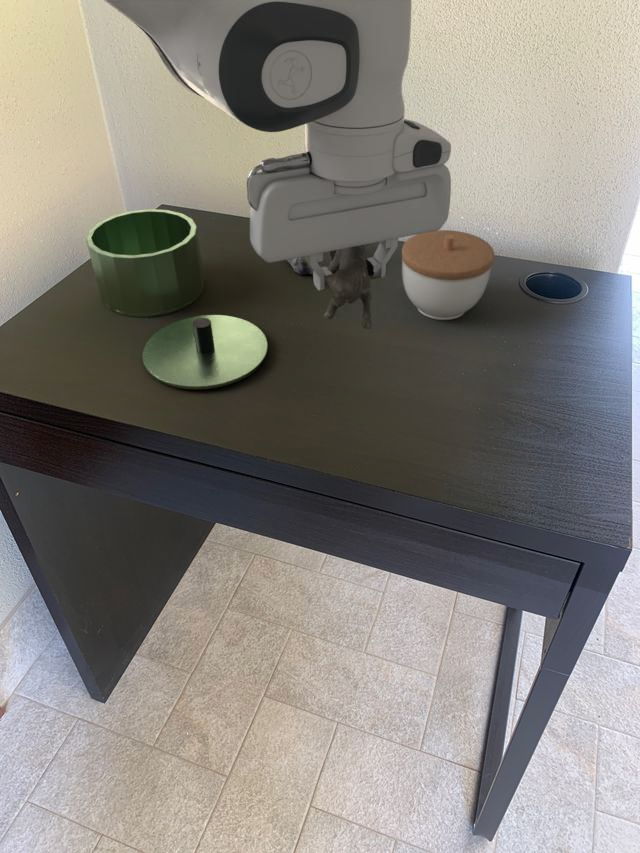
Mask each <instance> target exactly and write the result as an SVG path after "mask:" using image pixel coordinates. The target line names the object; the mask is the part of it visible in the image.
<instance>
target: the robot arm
mask: <svg viewBox="0 0 640 853" xmlns="http://www.w3.org/2000/svg"><path fill="white" fill-rule="evenodd" d="M104 2H106V3H107V4H109V5H110V6H111V7H112V8H114V9H115V10H117V11H118V12H119V13H121V14H122V15H123V16H125V17H126V18H127V19H128V20H130V21H131V22H132V23H134V24H135V26H136V27H138V28H139V29H140V30H141V31H142V32H144V34H145V35H146V37H147V38H148V40H149V41H150V42H151V44H152V46H153V47H154V49H155V51H156V52H157V54H158V56H159V57H160V59H161V61H162V63H163V64H164V66H165V68H166V69H167V70H168V72H169V73H170V74H171V76H172V77H173V78H174V79H175V80H176V81H177V82H178V83H179V84H180V85H181V86H182V87H183V88H185V89H186V91H189V92H191V93H192V94H194V95H196V96H199V97H201V98H203V99H205V100H207V101H208V102H210V103H211V104H213V106H215V107H217V108H218V109H220V110H221V111H222V112H224V113H226V114H227V115H229V117H231V118H233V119H234V120H236V121H237V122H239V123H241V124H243V125H244V126H246V127H249V128H251V129H254V130H256V131H260V132H264V133H280V132H284V131H289V130H292V129H294V128H298V127H300V126H304V127H305V128H304V130H305V131H304V132H305V133H304V136H305V138H304V139H305V143H304V144H305V152H301V153H295V154H290V155H286V156H283V157H277V158H276V157H269V158H265V159H264V158H263V159H262V160H260V163H259V164H258V165H255V167H253V168H252V169H251V170H250V172H249V173H248V174H247V177H246V181H245V182H246V184H245V185H246V197H247V199H246V200H247V201H248V204H249V206H250V214H249V241H250V244H251V247H252V248H253V250H254V252H255V253H256V254H257V255H258V256H259V257H260V258H261V259H262V260H263V261H265V262H266V263H269V264H271V263H277V262H282V261H287V260H288V259H293V258H298V257H303V256H304V258H305V259H306V261H307V262H308V264H309V265H310V267H311V268H312V269H313V275H312V277H313V280H312V282H313V286H314V287H315V288H316V289H317V290H318V292H320V291H326V290H330V287H329V285H328V283H327V281H326V276H328V275H330V274H332V272H331V271H329V269H328V268H327V267H320V266H319V264H318V262H322V261H323V253H324V252H329V251H330V252H333V251H337V250H339V249H344V248H349V247H355V246H360V245H364V246H366V245H371V244H375V243H379V245H378V246H377V249H376V250H375V252H374V254H373V256H371V257H367V258H366V259H365V264H366V267H367V271H368V275H369V279H370V281H371V280H376V279H381V278H385V277H386V273H387V272H386V270H387V264H388V262H389V261H390V260H391V258H392V256H393V255H394V253H395V251H396V250H397V248H398V246H399V244H398V243H399V239H400V238H405V237H412V236H415V235H417V234H422V233H427V232H432V231H437V230H441V229H442V228H443V226H444V225H445V224H446V222H447V220H448V218H449V215H450V208H451V196H452V195H451V194H452V176H451V171H450V169H449V168H448V166H447V165H446V164H447V163H448V161H449V160H450V158H451V153H452V145H451V142H450V141H449V140H448V139H446V137H444V136H442V135H441V134H440V133H438V132H436V131H435V130H433V129H431V128H430V127H428V126H426V125H424V124H423V123H420V122H418V121H415V120H411V119H407V118H405V114H406V108H405V101H404V100H405V99H404V95H403V81H404V75H405V72H406V69H407V66H408V64H409V58H410V47H411V31H412V30H411V28H412V0H104ZM325 289H326V290H325Z"/></svg>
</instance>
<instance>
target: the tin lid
mask: <svg viewBox="0 0 640 853" xmlns="http://www.w3.org/2000/svg"><path fill="white" fill-rule="evenodd" d="M267 339H268V338H267V337H266V335H265V333H264V332H263V331H262V329H260V328H259V327H258V326H257V325H255V324H254V323H252V322H250V321H248V320H245V319H243V318H239V317H237V316H236V317H235V316H230V315H225V314H205V315H204V314H203V315H196V316H191V317H188V318H183V319H180V320H177V321H175V322H172V323H169V324H167V325H166V326H163V327H162V328H161V329H159V330H158V331H156V332H155V333H154V334H153V335H152V336H151V337H150V338H149V339H148V340H147V342H146V343H145V345H144V348H143V351H142V362H143V366H144V368H145V369H146V371H147V373H148V374H149V375H150V376H151V377H153V379H155V380H157V381H159V382H160V383H162V384H165V385H166V386H171V387H173V388H177V389H183V390H184V389H185V390H209V389H216V388H220V387H226V386H228V385H231V384H234V383H237V382H239V381H241V380H243V379H245V378H247V377H249V376H250V375H252V374H253V373H254V372H256V371H257V370H258V369H259V368H260V367H261V366H262V365H263V363H264V362H265V360H266V358H267V355H268V351H269V347H268V346H269V345H268V343H269V342H268V340H267Z"/></svg>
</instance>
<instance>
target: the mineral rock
mask: <svg viewBox="0 0 640 853" xmlns="http://www.w3.org/2000/svg"><path fill="white" fill-rule="evenodd" d="M286 261H287V262H288V263H289V264H290V266H291V268H292V269H293V271H294V272H296V273H297V274H298V275H301V276H302V275H308V274H310V275H312V276H313V269H312V268H311V267H310V265H309V264H308V262H307V261H306V259H305V258H304V256H303V257H298V258H293V259H288V260H286ZM332 261H333V258H332V255H331V251H329V252H324V253H323V261H322V262H318V264H319V266H320V267H327V268H328V267H329V265H330V263H331V262H332Z"/></svg>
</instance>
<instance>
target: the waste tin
mask: <svg viewBox="0 0 640 853" xmlns="http://www.w3.org/2000/svg"><path fill="white" fill-rule="evenodd" d="M85 242H86V246H87V250H88V253H89V257H90V261H91V264H92V269H93V272H94V277H95V281H96V284H97V288H98V292H99V296H100V298H101V302H102V304H103V305H104V306H105V307H106V308H107V309H108V310H110V311H112V312H113V313H116V314H118V315H122V316H126V317H133V318H153V317H160V316H165V315H169V314H173V313H176V312H179V311H180V310H181V311H182V310H183V309H185V308H187V307H189V306H191V305H192V304H194V303H195V302H196V301H197V300H198V299H199V298H200V297H201V296H202V294H203V292H204V290H205V289H204V288H205V277H204V276H205V275H204V270H203V262H202V261H203V260H202V255H201V247H200V241H199V233H198V226H197V225H196V222H195V221H194V220H193V218H192V217H189V216H187V215H186V214H184V213H181V212H178V211H172V210H168V209H154V208H153V209H152V208H148V209H139V210H131V211H127V212H126V211H125V212H121V213H117V214H114V215H112V216H110V217H108V218H104V219H102V220H100V221H99V222H98V223H96V224H95V225H93V226H92V227H91V228H90V229H89V231H88V232H87V235H86V236H85Z"/></svg>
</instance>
